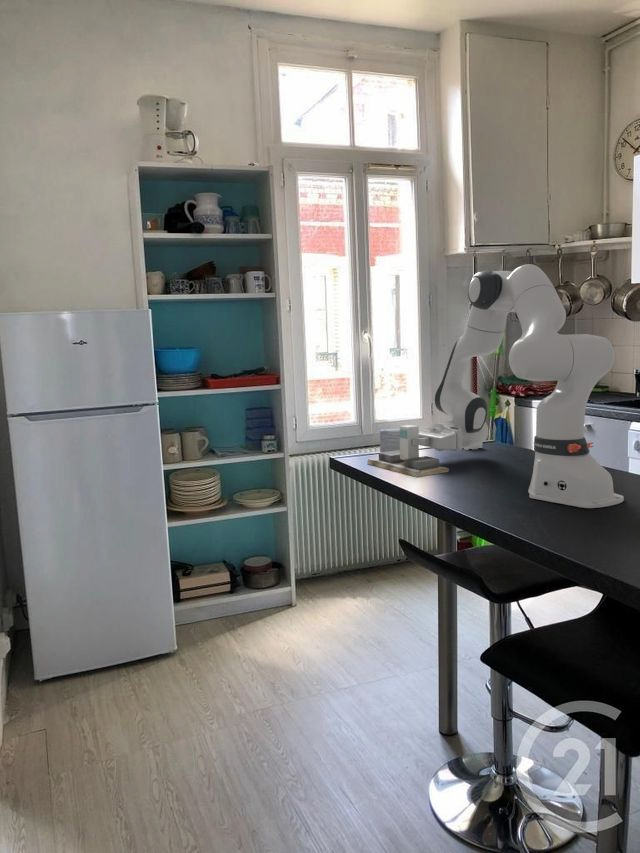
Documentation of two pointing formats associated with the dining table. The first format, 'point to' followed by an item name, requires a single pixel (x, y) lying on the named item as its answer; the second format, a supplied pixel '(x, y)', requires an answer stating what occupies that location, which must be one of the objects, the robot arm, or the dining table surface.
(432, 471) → the mounting board
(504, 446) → the dining table surface
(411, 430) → the block
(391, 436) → the medicine box
